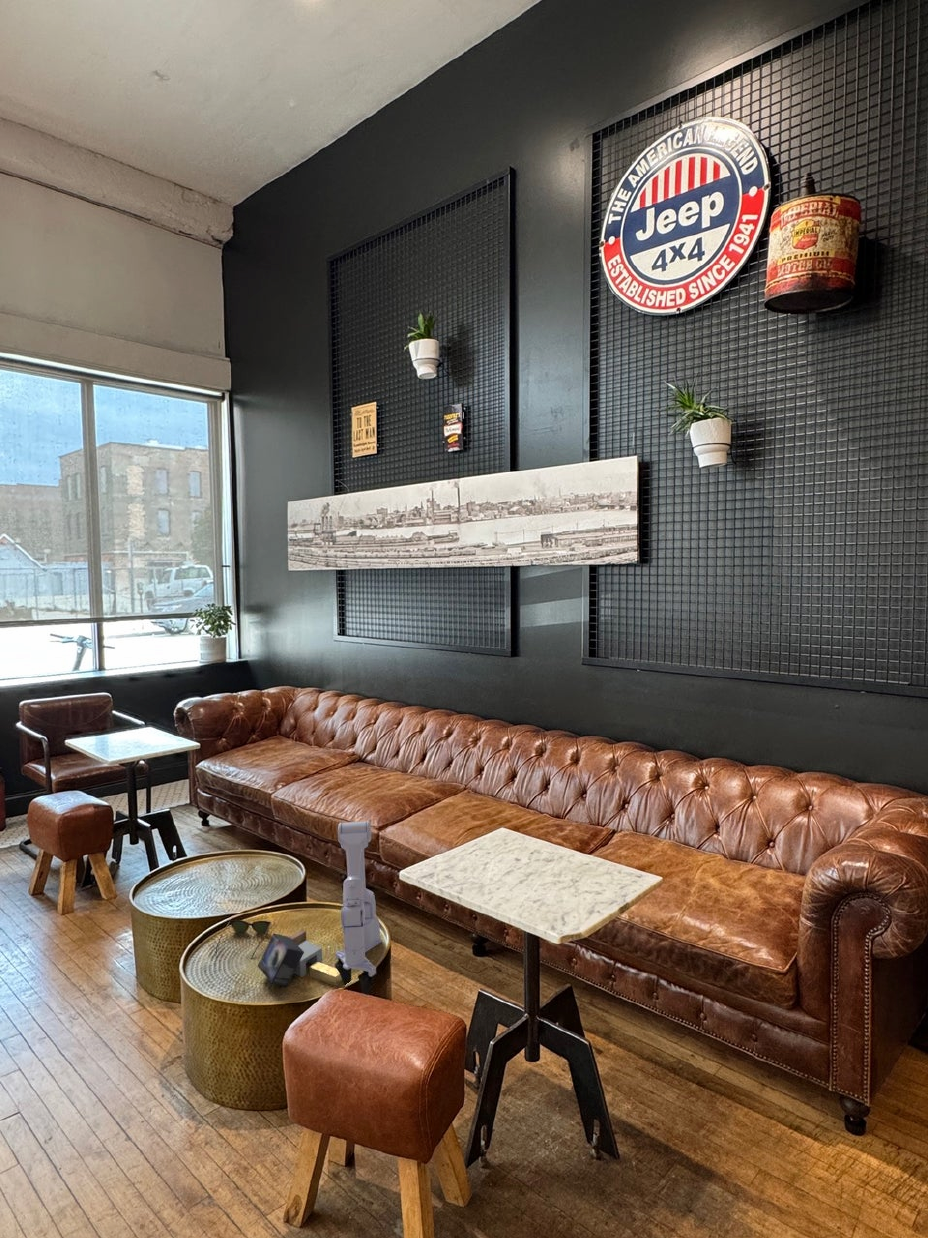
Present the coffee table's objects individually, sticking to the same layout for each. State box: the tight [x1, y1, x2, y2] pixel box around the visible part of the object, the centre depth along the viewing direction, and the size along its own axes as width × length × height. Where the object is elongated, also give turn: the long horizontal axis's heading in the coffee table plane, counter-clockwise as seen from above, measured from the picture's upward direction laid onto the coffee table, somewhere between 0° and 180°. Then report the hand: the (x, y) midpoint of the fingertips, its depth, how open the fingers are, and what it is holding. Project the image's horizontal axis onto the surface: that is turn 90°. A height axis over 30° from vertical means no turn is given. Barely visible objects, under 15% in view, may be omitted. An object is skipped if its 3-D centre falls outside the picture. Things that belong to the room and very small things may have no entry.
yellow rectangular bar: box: [309, 962, 343, 987], centre depth 218 cm, size 3×10×3 cm, turn 60°
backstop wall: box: [288, 929, 307, 945], centre depth 228 cm, size 13×2×6 cm, turn 142°
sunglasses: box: [215, 919, 271, 960], centre depth 236 cm, size 14×15×5 cm
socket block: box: [293, 940, 324, 978], centre depth 224 cm, size 8×7×5 cm
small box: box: [257, 932, 304, 987], centre depth 218 cm, size 11×6×10 cm
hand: (356, 989), depth 210 cm, fingers open, 7 cm apart
